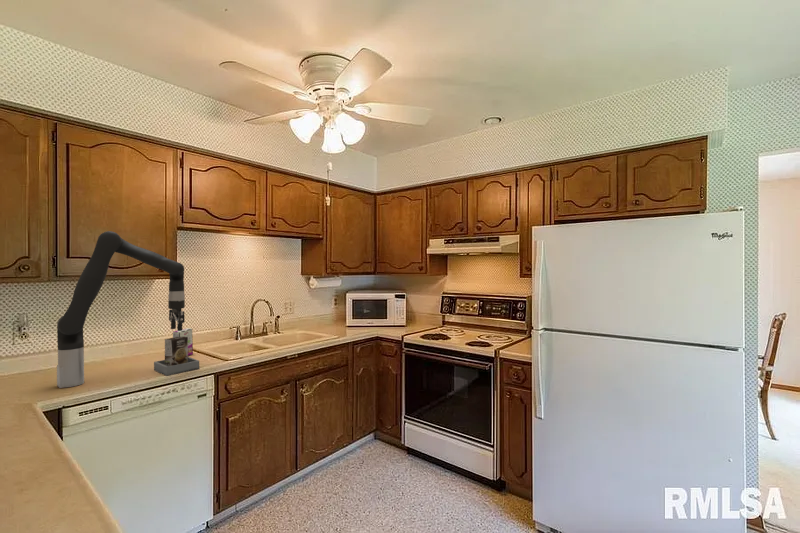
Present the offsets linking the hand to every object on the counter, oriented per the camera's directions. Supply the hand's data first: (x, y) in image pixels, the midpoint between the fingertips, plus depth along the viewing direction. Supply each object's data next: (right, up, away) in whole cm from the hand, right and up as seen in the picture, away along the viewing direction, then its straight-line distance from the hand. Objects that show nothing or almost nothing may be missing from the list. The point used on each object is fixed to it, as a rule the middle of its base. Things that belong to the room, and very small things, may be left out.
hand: (176, 329), depth 200 cm
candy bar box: (-13, -21, +29) cm, 38 cm away
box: (0, -21, 0) cm, 21 cm away
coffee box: (0, -21, 0) cm, 21 cm away
